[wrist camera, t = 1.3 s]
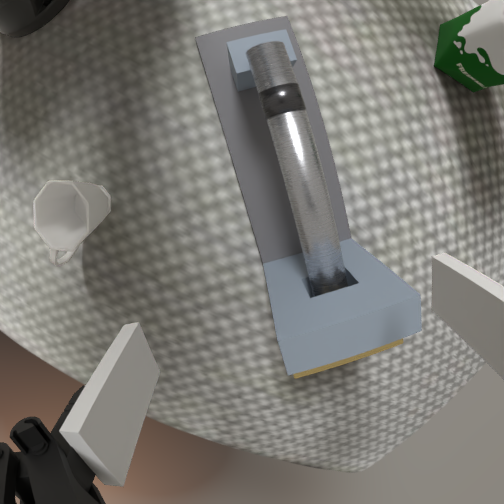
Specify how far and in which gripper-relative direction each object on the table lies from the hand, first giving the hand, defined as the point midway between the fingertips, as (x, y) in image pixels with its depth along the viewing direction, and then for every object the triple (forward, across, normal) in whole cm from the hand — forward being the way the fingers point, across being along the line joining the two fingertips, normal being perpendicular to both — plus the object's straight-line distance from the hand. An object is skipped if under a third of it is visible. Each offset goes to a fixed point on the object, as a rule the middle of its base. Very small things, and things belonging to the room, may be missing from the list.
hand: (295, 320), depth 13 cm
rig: (+22, +3, +4) cm, 22 cm away
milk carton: (+22, +29, +16) cm, 40 cm away
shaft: (+14, +4, +2) cm, 14 cm away
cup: (+22, -19, +5) cm, 29 cm away
